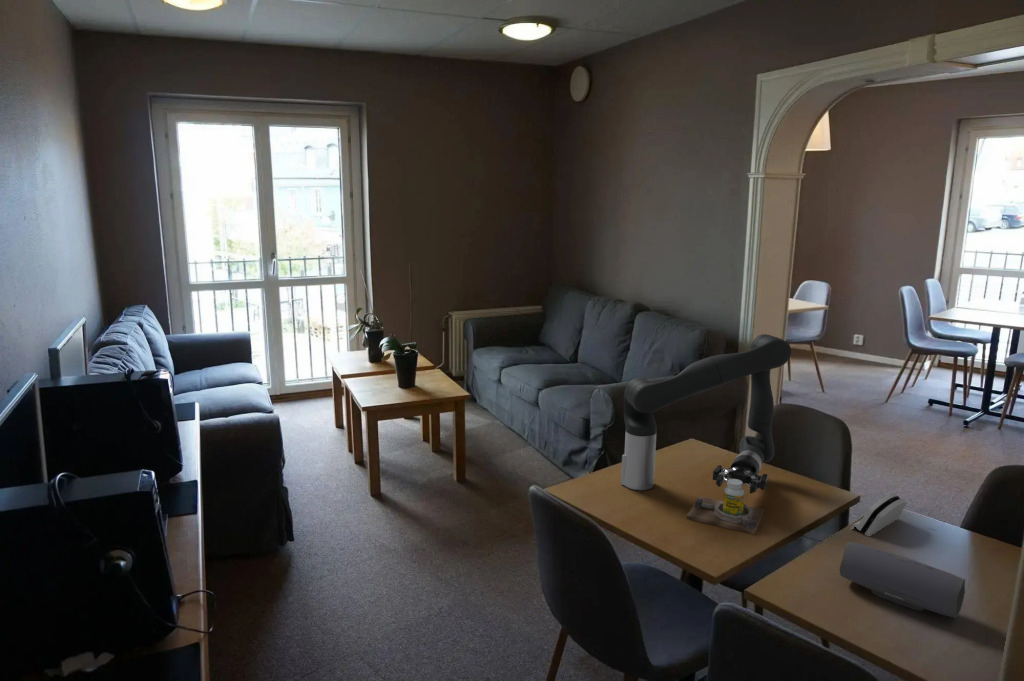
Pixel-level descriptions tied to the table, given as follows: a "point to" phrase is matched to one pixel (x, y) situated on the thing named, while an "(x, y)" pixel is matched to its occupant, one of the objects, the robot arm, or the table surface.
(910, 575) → the bluetooth speaker
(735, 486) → the supplement bottle
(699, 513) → the stand
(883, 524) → the white two-tone part
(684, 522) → the table surface
